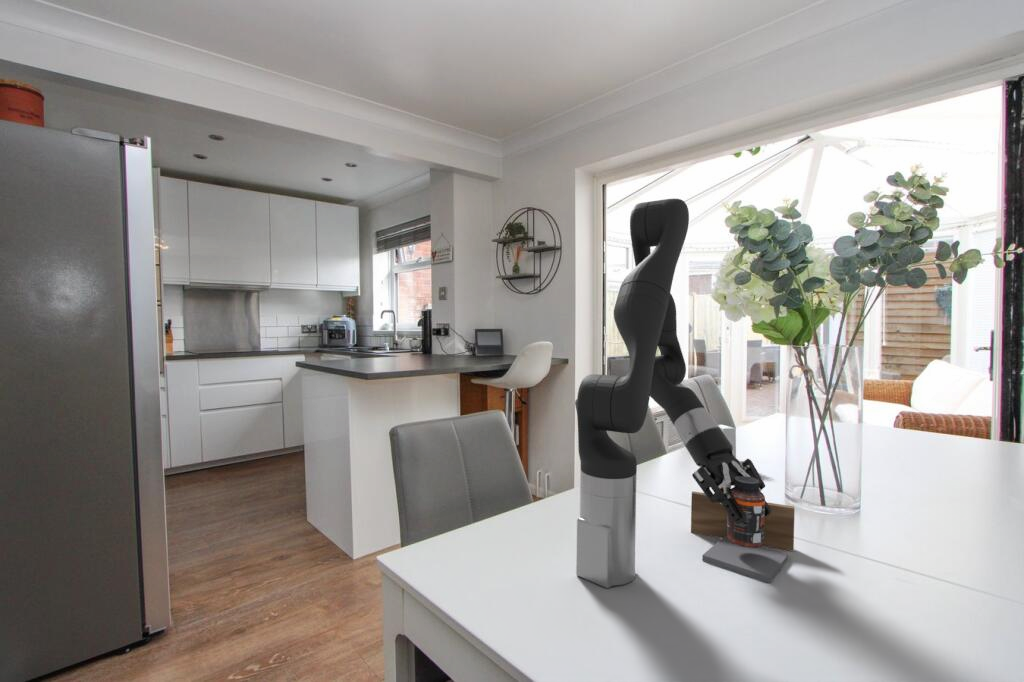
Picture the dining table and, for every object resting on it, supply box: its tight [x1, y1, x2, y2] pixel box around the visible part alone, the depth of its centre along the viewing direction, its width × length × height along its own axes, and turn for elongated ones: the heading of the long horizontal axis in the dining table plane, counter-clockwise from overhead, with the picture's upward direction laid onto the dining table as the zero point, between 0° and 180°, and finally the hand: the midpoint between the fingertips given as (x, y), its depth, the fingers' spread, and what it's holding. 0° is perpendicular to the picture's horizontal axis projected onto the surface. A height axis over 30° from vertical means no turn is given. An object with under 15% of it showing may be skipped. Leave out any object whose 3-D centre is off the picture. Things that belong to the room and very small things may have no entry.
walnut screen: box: [690, 491, 796, 552], centre depth 94 cm, size 1×18×8 cm, turn 64°
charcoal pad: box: [702, 536, 789, 584], centre depth 86 cm, size 11×11×1 cm
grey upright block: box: [718, 424, 737, 459], centre depth 145 cm, size 6×4×12 cm
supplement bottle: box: [727, 476, 766, 548], centre depth 86 cm, size 6×6×11 cm
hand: (754, 518), depth 85 cm, fingers closed on supplement bottle, 6 cm apart
